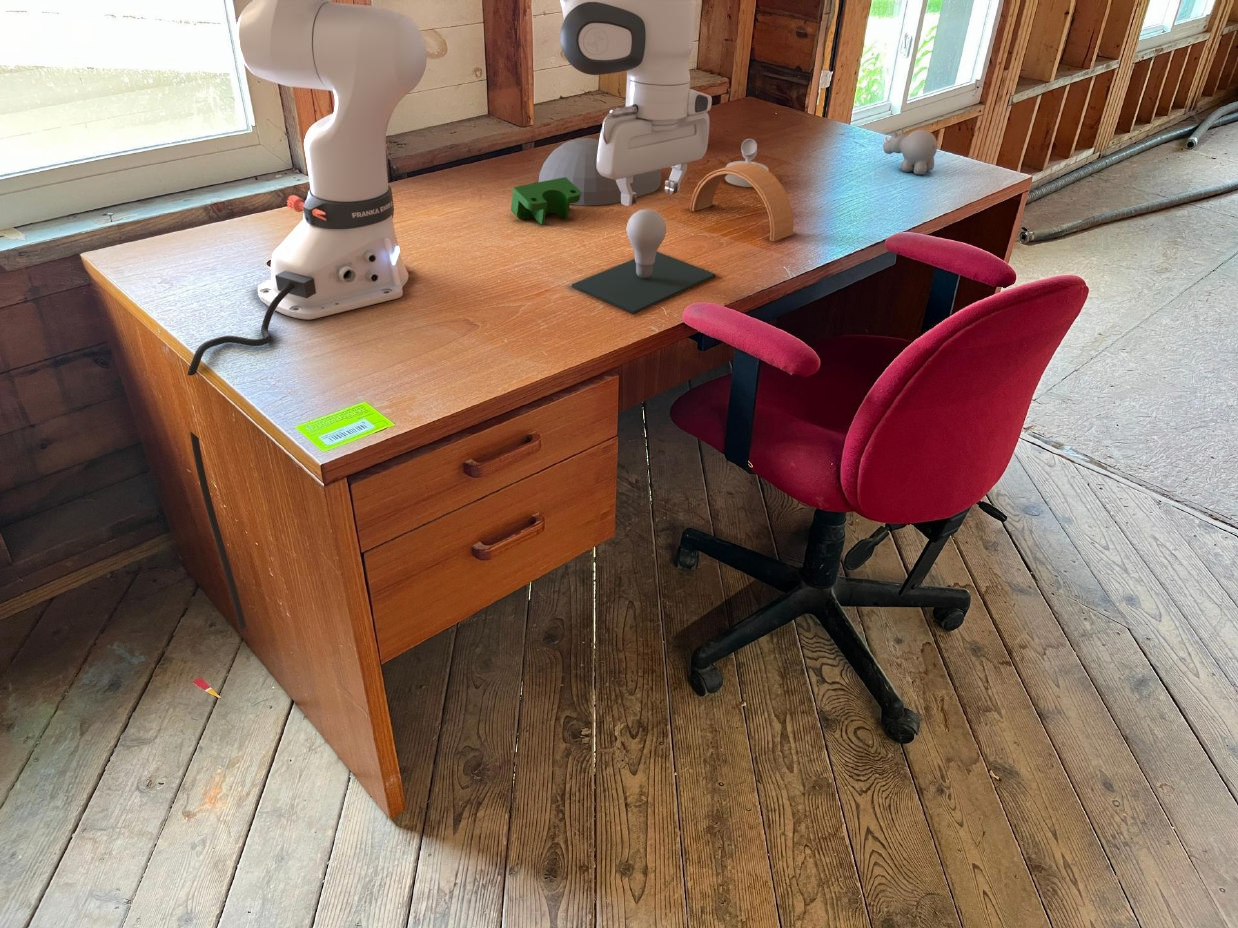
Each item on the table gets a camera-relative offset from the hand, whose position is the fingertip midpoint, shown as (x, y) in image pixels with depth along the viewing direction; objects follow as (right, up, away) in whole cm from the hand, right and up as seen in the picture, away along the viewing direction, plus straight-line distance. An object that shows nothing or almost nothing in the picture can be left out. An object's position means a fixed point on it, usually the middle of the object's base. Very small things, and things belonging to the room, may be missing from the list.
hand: (650, 198), depth 138 cm
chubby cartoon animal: (+57, +25, +64) cm, 90 cm away
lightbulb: (-1, -10, +10) cm, 14 cm away
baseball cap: (-9, +16, +47) cm, 50 cm away
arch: (+18, +5, +33) cm, 38 cm away
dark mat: (-1, -10, +10) cm, 14 cm away
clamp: (-18, +5, +31) cm, 36 cm away
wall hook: (+21, +18, +53) cm, 60 cm away
